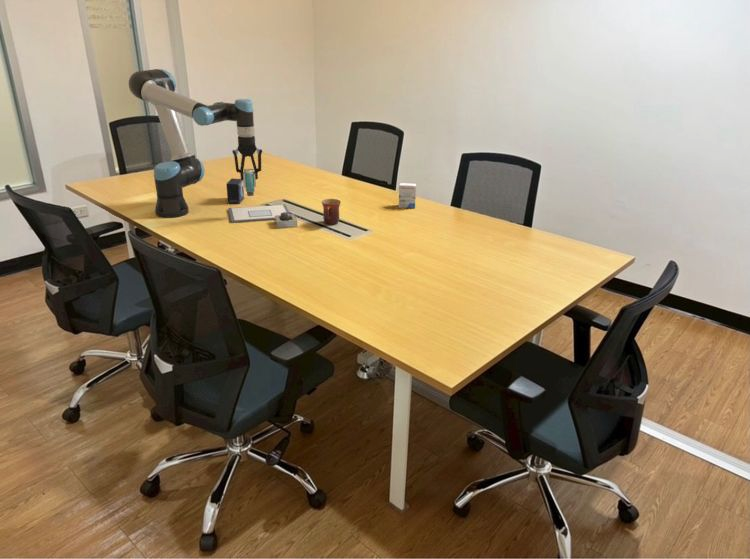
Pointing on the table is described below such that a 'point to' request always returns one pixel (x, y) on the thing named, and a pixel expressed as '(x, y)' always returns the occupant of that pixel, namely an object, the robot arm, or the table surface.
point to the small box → (235, 191)
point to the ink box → (407, 195)
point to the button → (285, 216)
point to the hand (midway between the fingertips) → (249, 186)
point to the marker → (249, 182)
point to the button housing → (285, 222)
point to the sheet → (256, 213)
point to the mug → (331, 211)
